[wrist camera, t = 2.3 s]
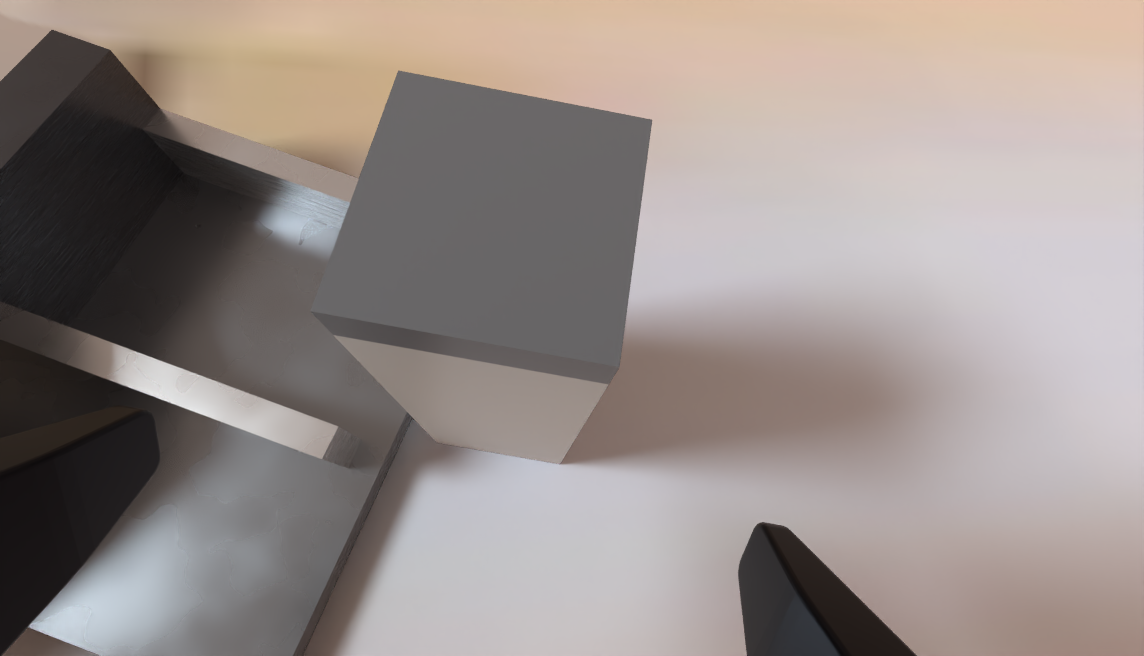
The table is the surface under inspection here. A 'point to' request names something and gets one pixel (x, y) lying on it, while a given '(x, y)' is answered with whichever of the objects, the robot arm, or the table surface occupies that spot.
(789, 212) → the table surface
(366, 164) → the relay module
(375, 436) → the mount plate
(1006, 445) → the table surface
